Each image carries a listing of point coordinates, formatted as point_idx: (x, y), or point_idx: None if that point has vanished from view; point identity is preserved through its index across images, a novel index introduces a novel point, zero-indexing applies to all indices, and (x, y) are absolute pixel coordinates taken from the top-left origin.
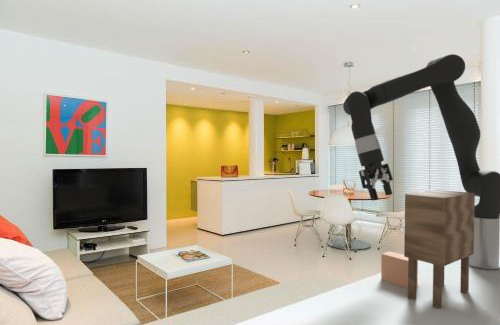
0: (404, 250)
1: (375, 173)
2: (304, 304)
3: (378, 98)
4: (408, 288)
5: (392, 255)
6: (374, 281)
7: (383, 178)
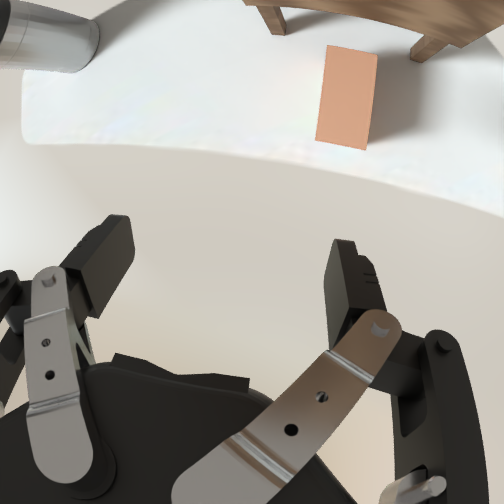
0: (468, 43)
1: (299, 469)
2: None
3: None
4: (428, 57)
5: (358, 114)
6: (380, 156)
7: (80, 343)
